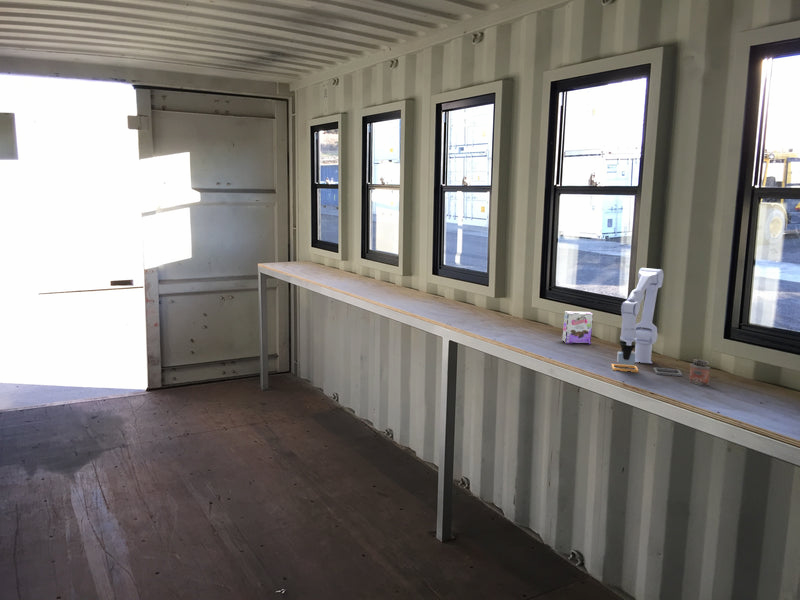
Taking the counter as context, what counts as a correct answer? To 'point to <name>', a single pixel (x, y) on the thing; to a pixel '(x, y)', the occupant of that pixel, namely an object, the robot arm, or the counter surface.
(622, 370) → the orange picture frame
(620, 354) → the plug
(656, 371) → the open gray picture frame
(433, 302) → the counter surface
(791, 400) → the counter surface
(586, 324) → the candy box
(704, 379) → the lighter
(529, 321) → the counter surface
